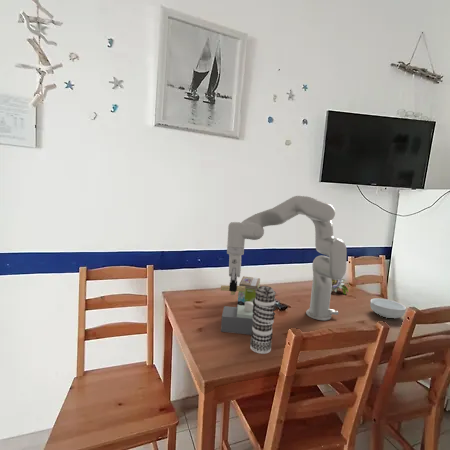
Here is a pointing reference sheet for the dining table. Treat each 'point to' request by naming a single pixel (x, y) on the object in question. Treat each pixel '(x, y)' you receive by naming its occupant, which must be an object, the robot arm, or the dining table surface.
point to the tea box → (248, 290)
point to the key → (226, 288)
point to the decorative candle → (263, 320)
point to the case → (235, 322)
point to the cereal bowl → (387, 308)
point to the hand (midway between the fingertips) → (233, 289)
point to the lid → (245, 310)
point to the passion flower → (339, 285)
